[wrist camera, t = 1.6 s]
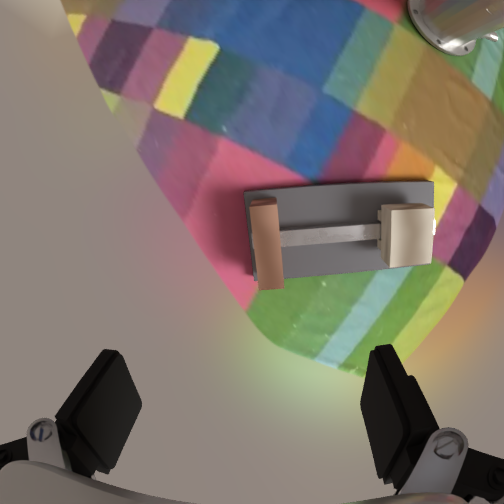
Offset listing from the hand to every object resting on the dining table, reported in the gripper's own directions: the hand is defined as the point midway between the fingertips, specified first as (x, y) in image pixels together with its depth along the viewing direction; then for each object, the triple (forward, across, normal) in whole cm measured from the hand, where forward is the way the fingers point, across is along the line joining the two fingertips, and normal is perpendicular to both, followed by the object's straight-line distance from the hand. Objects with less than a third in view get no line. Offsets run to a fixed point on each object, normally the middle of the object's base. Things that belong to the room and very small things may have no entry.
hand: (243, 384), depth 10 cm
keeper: (+29, -18, +2) cm, 34 cm away
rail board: (+30, -11, +3) cm, 32 cm away
